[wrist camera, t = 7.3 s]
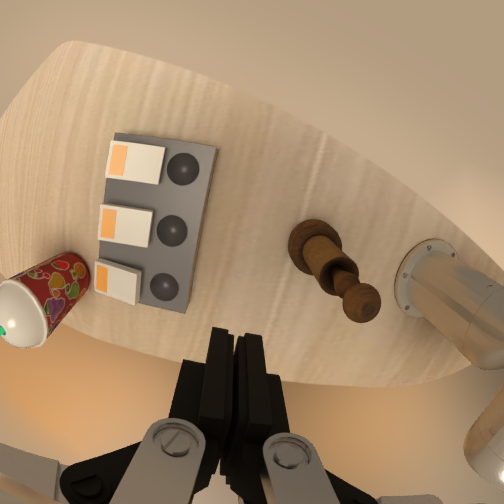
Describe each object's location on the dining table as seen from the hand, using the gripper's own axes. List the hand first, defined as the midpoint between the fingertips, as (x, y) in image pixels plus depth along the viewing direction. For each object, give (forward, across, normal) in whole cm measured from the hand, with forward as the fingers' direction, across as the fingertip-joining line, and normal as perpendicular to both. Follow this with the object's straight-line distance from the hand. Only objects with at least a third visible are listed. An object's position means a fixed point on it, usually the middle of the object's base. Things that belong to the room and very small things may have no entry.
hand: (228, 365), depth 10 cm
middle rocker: (+24, +12, +2) cm, 27 cm away
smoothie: (+27, +22, +12) cm, 37 cm away
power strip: (+27, +10, +2) cm, 29 cm away
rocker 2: (+24, +12, +9) cm, 28 cm away
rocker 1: (+24, +12, -5) cm, 27 cm away
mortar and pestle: (+27, -10, +1) cm, 29 cm away
